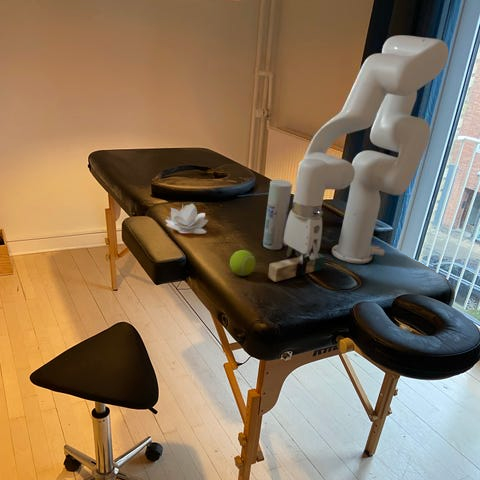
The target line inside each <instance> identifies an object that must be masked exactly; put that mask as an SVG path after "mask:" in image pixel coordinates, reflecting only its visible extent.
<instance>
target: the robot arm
mask: <svg viewBox="0 0 480 480" xmlns="http://www.w3.org/2000/svg"><path fill="white" fill-rule="evenodd" d="M448 59H449V48H448V45H447V43H446V42H445V41H443V40H442V39H440V38H439V39H438V38H432V37H431V38H430V37H422V36H415V35H404V34H403V35H402V34H401V35H400V34H399V35H392V36H390V37H389V38H387V39H386V40H385V41H384V44H383V45H382V49H381V52H380V53H373V54H371V55H369V56H368V57H367V58H366V59H365V60H364V62H363V64H362V66H361V68H360V69H359V71H358V74H357V76H356V79H355V81H354V83H353V85H352V88H351V90H350V92H349V94H348V96H347V99H346V101H345V103H344V105H343V107H342V109H341V110H340V112H339V113H337V114H336V115H335V116H333V117H332V118H331V119H329V120H328V121H327V122H326V123H324V124H323V126H321V127H320V128H319V130H317V132H316V133H315V134H314V135H313V137H312V139H311V141H310V143H309V145H308V148H306V149H307V150H306V152H305V154H304V157H303V159H301V161H299V164H298V167H297V168H298V169H297V176H296V182H295V188H294V193H293V200H292V207H291V209H290V211H289V212H288V215H287V221H286V227H285V233H284V238H283V239H282V242H283V246H284V247H285V248H284V249H285V251H286V256H287V259H291V258H295V257H298V255H297V253H298V252H299V256H300V262H299V263H298V264H297V270H296V276H295V277H300V276H304V275H305V272H306V267H307V263H308V262H310V261H311V260H315V259H318V254H317V253H319V251H320V248H321V243H322V235H323V217H322V216H323V214H324V212H323V210H322V207H323V202H324V197H325V191H327V190H335V191H340V190H344V189H346V188H348V187H349V193H348V197H347V202H346V207H345V208H346V209H345V212H344V216H343V221H342V226H341V230H340V235H339V238H338V244H336V245H334V246H332V248H331V254H332V256H334V257H335V258H336V259H338V260H340V261H343V262H347V263H350V264H366V263H367V264H368V263H369V262H371V261H372V259H373V256H374V255H377V256H382V257H383V256H385V251H386V250H385V249H383V248H380V246H376V245H375V246H374V245H373V244H372V239H373V235H374V232H375V227H376V223H377V219H378V215H379V212H380V207H381V194H380V192H381V193H382V192H383V193H385V194H388V195H392V196H400V195H402V194H404V193H405V192H406V191H407V190H408V188H409V187H410V186H411V184H412V181H413V179H414V177H415V175H416V173H417V170H418V167H419V165H420V163H421V160H422V158H423V156H424V153H425V151H426V149H427V146H428V143H429V140H430V136H431V135H430V133H431V129H430V128H431V127H430V125H429V122H427V120H425V119H424V118H422V117H418V116H413V115H412V112H413V109H414V106H415V103H416V101H417V97H418V91H419V90H420V89H421V88H423V87H424V86H425V85H427V84H428V83H430V82H432V80H435V78H437V77H438V76H439V75H440V74H441V73H442V71H443V70H444V68H445V67H446V65H447V63H448ZM370 127H371V129H370V133H369V139H370V142H371V143H372V145H374V146H377V147H378V148H382V149H384V150H389V151H392V152H395V153H398V155H397V157H396V156H393V155H389V154H386V153H383V152H379V151H376V150H363V151H361V152H359V153H357V154H356V155H355V157H354V158H353V160H352V162H350V161H348V160H346V159H343V158H340V157H337V156H334V155H331V154H328V151H329V149H330V147H332V145H333V143H334V142H336V141H337V140H338V139H340V138H341V137H343V136H345V135H348V134H351V133H355V132H359V131H361V130H362V131H363V130H367V129H368V128H370ZM310 253H311V256H310ZM305 255H306V257H305V258H304V256H305Z"/></svg>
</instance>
